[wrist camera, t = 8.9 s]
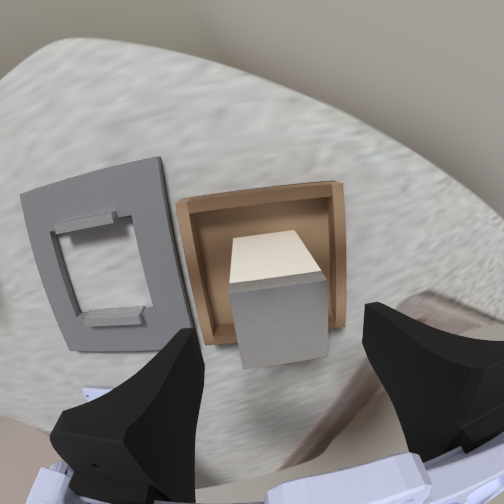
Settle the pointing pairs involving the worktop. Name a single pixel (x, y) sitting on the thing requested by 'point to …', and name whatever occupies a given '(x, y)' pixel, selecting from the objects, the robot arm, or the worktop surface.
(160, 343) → the frame
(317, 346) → the block
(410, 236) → the worktop surface
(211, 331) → the tray
